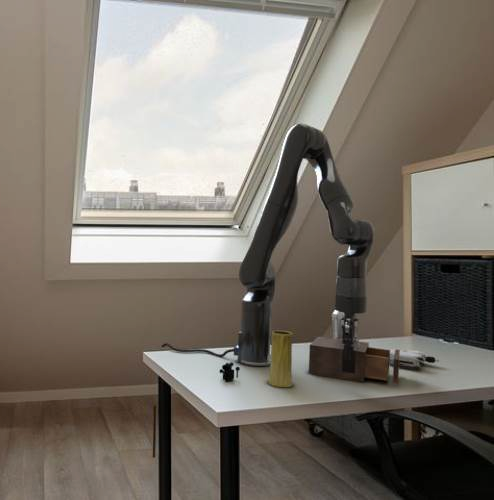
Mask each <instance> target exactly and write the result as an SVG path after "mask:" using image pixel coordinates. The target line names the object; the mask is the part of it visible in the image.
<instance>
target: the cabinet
mask: <svg viewBox="0 0 494 500" xmlns="http://www.w3.org/2000/svg"><path fill="white" fill-rule="evenodd" d="M368 347H370V343H369V342H366V341H359V350H358V351H356V362H355V373H347V372H342V352H343V349H340V339H334V338H333V337H324V336H317V337H316V338H315V339H314V340H313V341H312V342H311V343H310V344H309V356H308V357H309V358H308V374H310V375H315V376H321V377H326V378H328V377H329V378H332V379H333V378H334V379H339V380H347V381H352V382H359V383H365V381H366V377H364V370H365V353H366V351H367V348H368Z"/></svg>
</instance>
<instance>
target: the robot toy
mask: <svg viewBox="0 0 494 500" xmlns="http://www.w3.org/2000/svg"><path fill="white" fill-rule="evenodd" d="M389 350H390V364H392V365H394V354H395V349H389ZM399 360H404V361H411V362H414V361H418V362H419V364H420V366H422V365H424V363H429V364H435V363H438V362H440V359H439V358H435V357H434V356H429V355H428V356H426V353H424V352H423V351H419V350H413V349H409V350H400V358H399ZM399 365H406V366H413V364H408V363H401V362H399Z"/></svg>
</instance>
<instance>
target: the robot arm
mask: <svg viewBox="0 0 494 500" xmlns="http://www.w3.org/2000/svg"><path fill="white" fill-rule="evenodd" d="M303 160H306V161H307V162H308V163H309V164H310V166H311V167H312V169H313V171H314V173H315V176H316V189H317V194H318V196H319V199H320V201H321V203H322V205H323V207H324V209H325V211H326V212H327V213H326V214H327V220H328V227H329V231H330V235H331V237H332V238H333V240H334V241H335V242H336V243H338V244H339V245H341V246H348V249H347V251H346V253H344V254H343V253H342V254H341V255H339V256H338V258H337V260H336V261H337V264H336V281H335V291H334V292H335V293H334V310H336V311H339V312H343V313H344V317H342V319H341V325H342V344H343V345H344V356H343V358H344V359H345V360H353V346H354V340H357V336H358V328H359V327H358V326H359V324H360V322H359V321H360V319H359V318H357V314H365V313H366V312H367V301H368V300H367V299H368V283H367V271H368V270H367V267H368V266H367V265H368V264H367V263H368V259H369V257H370V253H371V250H372V247H373V244H374V240H375V229H374V226H373V224H372V223H371V222H370V220H367V219H364V218H352V217H351V216H350V214H351V213H352V212H353V211H354V209H355V202H354V200H353V198H352V196H351V194H350V192H349V191H348V189H347V187H346V185H345V183H344V181H343V180H342V177H341V176H340V173H339V171H338V168H337V166H336V163H335V160H334V157H333V154H332V150H331V146H330V143H329V140H328V138H327V135H326V133H324V132H323V131H322V130H320V129H319V128H316V127H314V126H311V125H309V124H306V123H297V124H295V125H294V126H292V127H291V128H290V129H289V130H288V132H287V134H286V135H285V139H284V140H283V145H282V149H281V152H280V157H279V161H278V165H277V169H276V171H275V175H274V177H273V181H272V184H271V186H270V190H269V193H268V195H267V198H266V200H265V203H264V206H263V208H262V211H261V213H260V217H259V220H258V223H257V226H256V228H255V232H254V234H253V238H252V241H251V243H250V245H249V247H248V249H247V252H246V253H245V256H244V258H243V260H242V262H241V263H240V266H239V269H238V279H239V282H240V283H241V285H242V286H244V287H245V288H246V292H245V294H244V297H243V298H242V299H241V303H240V306H241V307H240V331H239V332H238V335H237V336H238V337H237V338H238V339H237V341H238V342H237V345H235V346H234V347H233V348H230V349H227V350H225V351H224V352H223V353H221V354H220V353H219V354H218V353H216V352H214V351H211V350H209V349H204V348H203V349H202V348H197V349H196V348H192V349H182V348H181V349H180V348H177V347H174V346H172V345H171V344H170V343H168V342H165V343H163V344H162V345H161V346H160V347H161V348H164V347H166V346H167V347H169V348H170V349H171V350H172V351H174V352H178V353H207V354H210V355H211V356H214V357H218V358H224V357H225V356H226V355H227V354H229V353H233V356H236V357H237V363H241V364H242V365H246V366H249V367H250V366H251V367H267V366H270V363H271V339H272V307H273V303H274V301H275V300H274V299H275V292H276V291H275V290H276V269H275V266H274V264H273V263H271V259H272V256H273V253H274V251H275V249H276V247H277V245H278V244H279V243H280V241H281V239H283V237H284V236H285V235H286V233H287V231H288V230H289V228H290V226H291V224H292V222H293V220H294V217H295V214H296V212H297V209H298V205H299V186H298V179H299V178H298V176H299V173H300V169H301V165H302V162H303ZM346 339H351V340H346ZM152 411H153V417H152V418H153V421H152V422H153V423H152V424H153V425H152V429H153V431H152V458H156V443H157V442H156V441H157V439H156V437H157V432H156V431H157V405H153V410H152Z"/></svg>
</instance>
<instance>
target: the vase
mask: <svg viewBox="0 0 494 500" xmlns="http://www.w3.org/2000/svg"><path fill="white" fill-rule="evenodd" d="M292 347H293V333H292V332H291V331H287V330H271V341H270V355H271V359H270V365H269V378H268V384H269V385H271V386H273V387H277V388H290V387H292V386H293V381H292V380H293V379H292V378H293V376H292V372H293V371H292V363H293V361H292V359H293V358H292V357H293V355H292V354H293V353H292V352H293V351H292V349H293V348H292Z"/></svg>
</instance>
